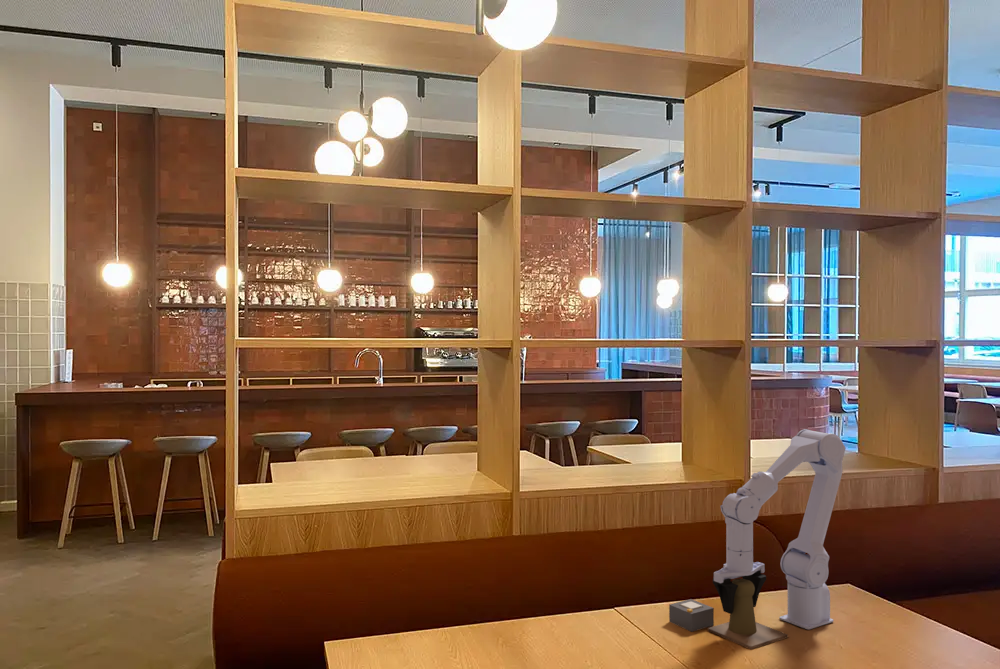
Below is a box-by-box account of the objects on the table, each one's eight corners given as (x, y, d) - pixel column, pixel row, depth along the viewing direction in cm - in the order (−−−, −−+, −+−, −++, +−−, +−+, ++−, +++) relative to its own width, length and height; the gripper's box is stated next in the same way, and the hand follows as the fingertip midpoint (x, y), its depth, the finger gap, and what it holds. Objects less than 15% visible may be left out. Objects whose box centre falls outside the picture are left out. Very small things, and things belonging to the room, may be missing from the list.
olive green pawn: (757, 635, 168) (757, 585, 168) (729, 633, 170) (728, 583, 170) (755, 625, 174) (755, 577, 174) (727, 623, 175) (727, 575, 175)
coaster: (744, 620, 179) (744, 617, 179) (787, 637, 169) (787, 634, 169) (707, 630, 173) (707, 628, 173) (750, 649, 162) (750, 646, 162)
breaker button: (691, 613, 179) (691, 601, 179) (702, 618, 176) (702, 605, 176) (680, 616, 177) (680, 604, 177) (691, 621, 174) (691, 608, 174)
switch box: (691, 615, 182) (691, 597, 182) (713, 625, 176) (713, 606, 176) (669, 621, 178) (669, 602, 178) (691, 631, 172) (691, 612, 172)
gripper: (747, 539, 180) (747, 597, 180) (703, 549, 172) (703, 609, 172) (772, 546, 174) (772, 606, 174) (727, 556, 166) (727, 619, 166)
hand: (739, 609), depth 172 cm, fingers open, 7 cm apart
